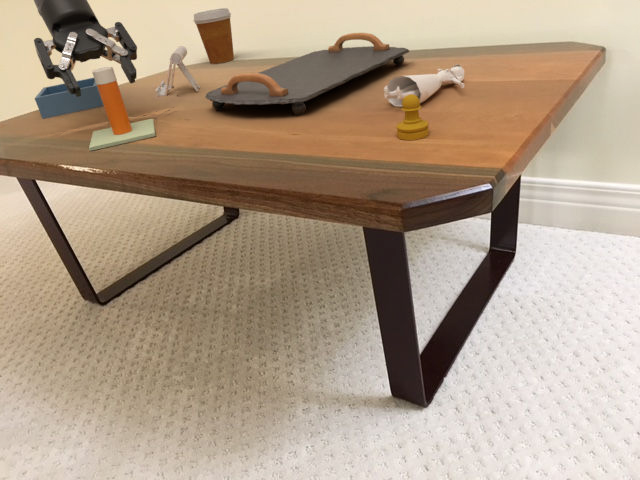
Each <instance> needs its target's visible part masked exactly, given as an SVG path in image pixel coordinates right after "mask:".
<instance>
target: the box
mask: <svg viewBox="0 0 640 480" xmlns="http://www.w3.org/2000/svg"><path fill="white" fill-rule="evenodd" d="M76 81H77V83H78V85H79V87H80V90H81V96H79V97H76V96H75V94H71V93H69V91H68V89H67V87H66V85H65V83H64V82H63V83H60V84H59V83H58V84H55V85H50V86H44V87H42V88H41V90H40V91H39V92H38V94H37V95H36V96H34V101H35V103H36V106H37V108H38V111H39V113H40V116H41V118H42V120H43V119H44V120H45V119H48V118H54V117H59V116H63V115H68V114H73V113H78V112H82V111H87V110H91V109H92V110H93V109H96V108H101V107H104V105H103V102H102V99H101V96H100V93H99V90H98V87H97V84H96V82H95V79H94V77H89V78H85V79H79V80H76Z"/></svg>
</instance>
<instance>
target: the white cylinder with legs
mask: <svg viewBox="0 0 640 480" xmlns="http://www.w3.org/2000/svg"><path fill="white" fill-rule="evenodd" d="M187 55H188V50H187V47H185V46H178V47H177V48H176V49H175V50H174V51H173V53H172V54H171V55H170V58H169V66H168V73H167V80H166V82H165V80H162V81H161V82H160V84H159V86H157V87H156V89H155V95H156V98H162V97H167V96H168V94H169V91H170V90H171V89H173V86H174V79H175V75H176V74H175V73H176V67H178V68H179V70H180V71H181V72H182V74H183V75H184V77H185V78H186V80H187V81H188V83H189V84H190V85H191V87H192V88H193V89H194V91H195V92H196V93H198V92H199V90H200V89H201V85H200V84H199V83H198V81H197V80H196V79H195V77H194V76H193V74H192V73H191V72H190V71H189V69H188V68H187V65H185V63H184V61H183V60H184V59H185V58H186V56H187Z"/></svg>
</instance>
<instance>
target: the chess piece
mask: <svg viewBox="0 0 640 480" xmlns="http://www.w3.org/2000/svg"><path fill="white" fill-rule="evenodd" d="M422 107H423V106H421V104H420V100H419V98H418V97H417V96H416V95H413V94H409V95H407V96H405V97H404V99H403V101H402V106H401V109H400V110H401V111H403V112H404V118H403V119H402V121H401V122H399V123H397V124H396V126H395V128H396V136H397V138H398V139H399V140H402V141H414V140H415V141H416V140H421V139H424V138H426V137H428V136H429V135H430V127H429V121H428V120H425V119H422V117H420V113H419V110H420V109H422Z"/></svg>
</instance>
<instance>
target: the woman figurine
mask: <svg viewBox="0 0 640 480" xmlns="http://www.w3.org/2000/svg"><path fill="white" fill-rule="evenodd" d="M437 71H438V72H437V73H426V74H425V73H423V74H409V75H397V76H394V77H392V78H391V79H389V81H388V83H387V85H385V86H384V87H383V93H384V97H383V98H384V99H386V100H387V101H388V102H389V104H391V105H392V106H393V107H402V101H403V99H404V97H405V96H407V95H409V94H413V95H416V96H417V97H418V98H419V100H420V105H422V103H424V102H426V101H427V100H428V99H429V98H431V96H433V95H434V94H435V93H437V92H438V90H439V89H441V86H442V85H443V84H444V85H452V84H455V85H458V86H459V87H460V88H461V89H464V88H465V83H463V82H462V81H463V80H464V78H465V75H466V73H465V72H466V71H465V69H464V67H462V65H460V64H458V63H457V64H455V65H452V66H451V68H450V69H449V68H446V69H445V70H444V69H442V68H438V69H437Z"/></svg>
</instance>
